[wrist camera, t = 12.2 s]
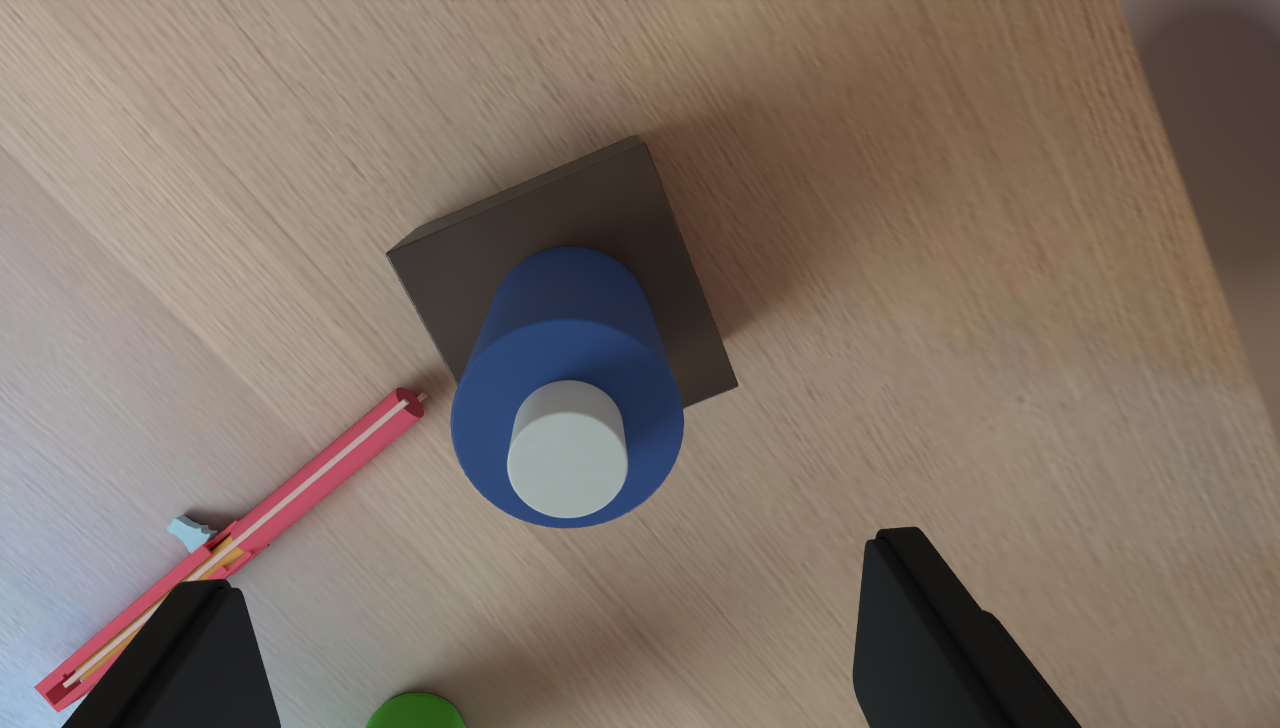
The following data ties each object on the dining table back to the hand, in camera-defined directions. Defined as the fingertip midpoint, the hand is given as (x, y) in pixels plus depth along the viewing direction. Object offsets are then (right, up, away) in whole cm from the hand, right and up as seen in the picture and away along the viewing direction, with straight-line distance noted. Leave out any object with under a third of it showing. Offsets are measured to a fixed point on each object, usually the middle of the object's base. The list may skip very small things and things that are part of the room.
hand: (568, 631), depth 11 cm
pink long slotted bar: (-18, -4, +24) cm, 30 cm away
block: (-2, +7, +21) cm, 22 cm away
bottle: (-1, +5, +16) cm, 17 cm away
